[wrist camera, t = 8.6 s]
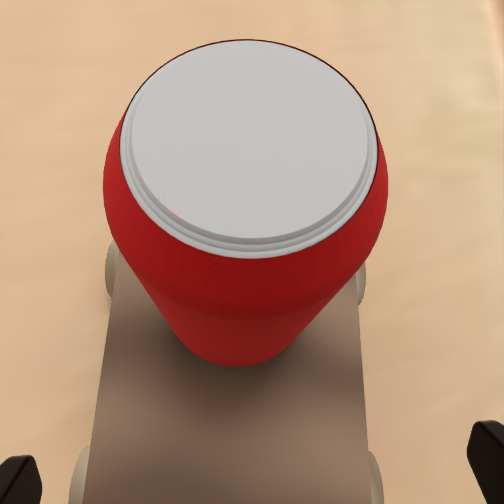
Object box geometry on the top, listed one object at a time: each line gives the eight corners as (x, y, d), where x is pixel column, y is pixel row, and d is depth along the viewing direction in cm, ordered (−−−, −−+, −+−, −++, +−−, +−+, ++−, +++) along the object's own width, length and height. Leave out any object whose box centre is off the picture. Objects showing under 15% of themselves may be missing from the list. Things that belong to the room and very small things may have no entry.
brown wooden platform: (366, 555, 19) (454, 646, 12) (81, 553, 19) (-15, 646, 11) (346, 237, 25) (396, 163, 18) (127, 228, 24) (84, 147, 17)
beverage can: (139, 316, 18) (-3, 164, 7) (221, 212, 20) (214, -36, 9) (255, 399, 17) (308, 376, 6) (330, 281, 19) (472, 99, 8)
